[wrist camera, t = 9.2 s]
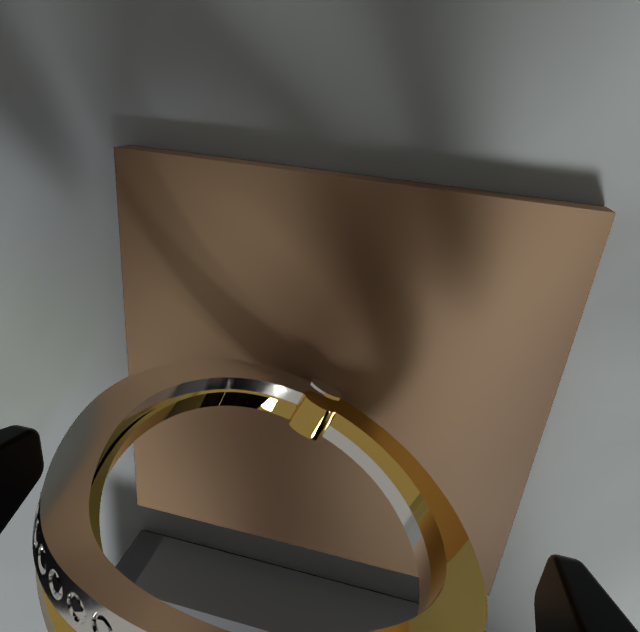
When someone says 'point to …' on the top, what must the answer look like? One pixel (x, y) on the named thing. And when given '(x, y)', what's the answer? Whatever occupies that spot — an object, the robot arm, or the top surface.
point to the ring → (245, 391)
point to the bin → (253, 591)
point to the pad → (349, 339)
